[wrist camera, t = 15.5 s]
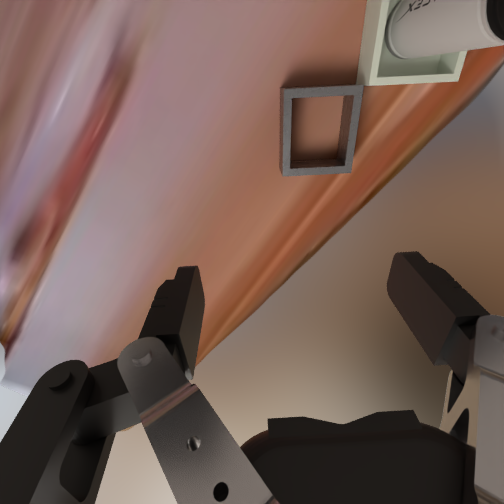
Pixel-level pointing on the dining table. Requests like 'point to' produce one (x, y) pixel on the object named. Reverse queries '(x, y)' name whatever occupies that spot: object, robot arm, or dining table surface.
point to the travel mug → (443, 27)
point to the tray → (394, 69)
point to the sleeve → (345, 137)
